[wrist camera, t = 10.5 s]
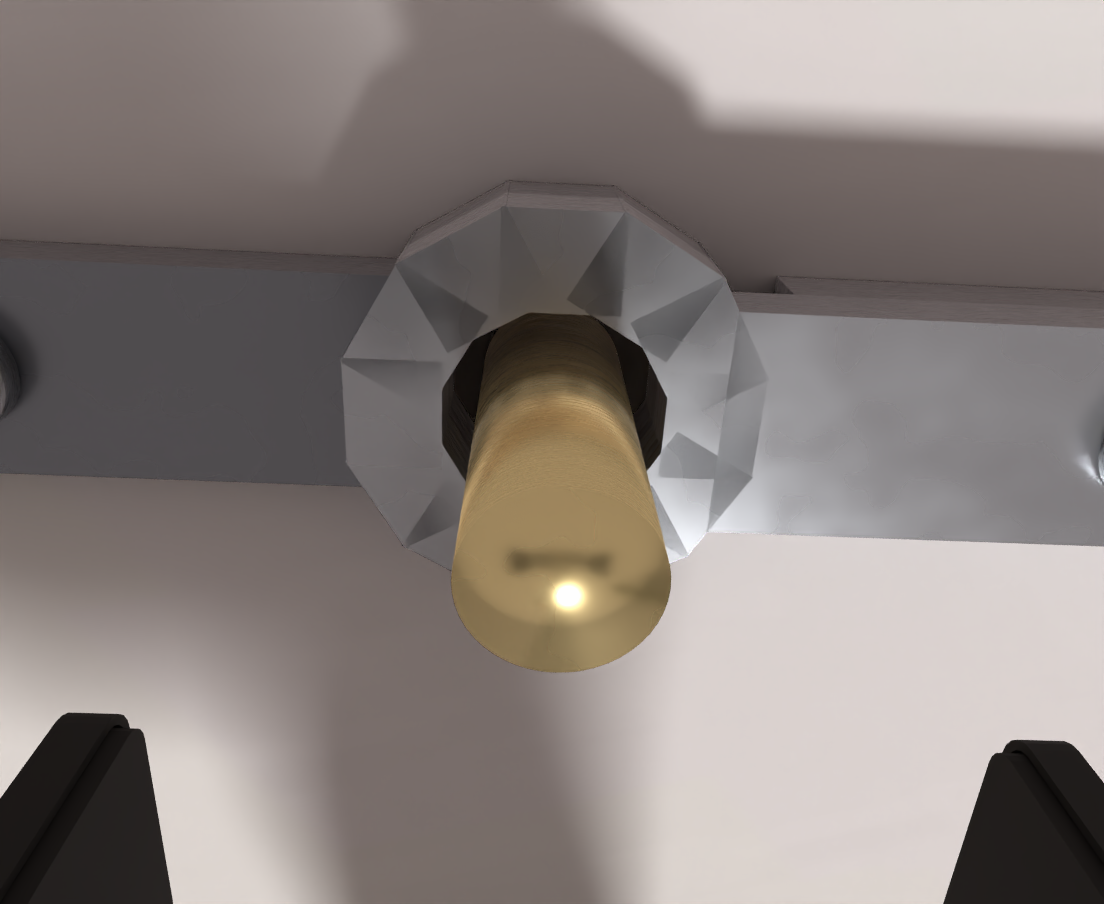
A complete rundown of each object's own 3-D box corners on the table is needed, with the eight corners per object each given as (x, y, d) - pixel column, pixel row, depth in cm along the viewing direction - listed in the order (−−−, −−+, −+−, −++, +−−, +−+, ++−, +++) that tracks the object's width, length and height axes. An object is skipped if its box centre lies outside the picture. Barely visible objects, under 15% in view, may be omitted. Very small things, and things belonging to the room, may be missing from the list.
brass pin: (645, 350, 21) (715, 556, 13) (570, 454, 22) (590, 703, 14) (530, 278, 20) (527, 447, 12) (459, 389, 21) (410, 612, 13)
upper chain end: (1344, 222, 20) (1512, 263, 16) (1201, 551, 24) (1314, 641, 20) (360, 171, 19) (321, 204, 16) (374, 521, 23) (345, 609, 19)
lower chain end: (760, 192, 19) (786, 212, 17) (708, 534, 23) (726, 584, 21) (-276, 140, 18) (-378, 154, 16) (-154, 503, 22) (-226, 551, 20)
